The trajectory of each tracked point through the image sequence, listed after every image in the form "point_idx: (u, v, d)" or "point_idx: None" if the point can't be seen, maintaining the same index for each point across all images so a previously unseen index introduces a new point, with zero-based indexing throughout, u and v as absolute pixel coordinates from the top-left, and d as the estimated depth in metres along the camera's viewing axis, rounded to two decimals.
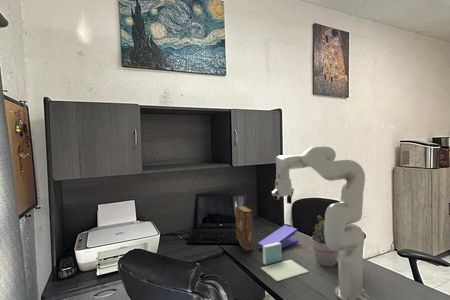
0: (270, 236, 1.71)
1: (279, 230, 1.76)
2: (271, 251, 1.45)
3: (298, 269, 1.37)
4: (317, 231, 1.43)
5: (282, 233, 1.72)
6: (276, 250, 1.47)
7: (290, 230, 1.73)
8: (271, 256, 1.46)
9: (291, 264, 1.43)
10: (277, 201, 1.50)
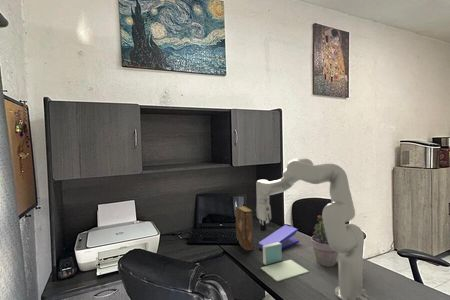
0: (270, 236, 1.71)
1: (279, 230, 1.76)
2: (271, 251, 1.45)
3: (298, 269, 1.37)
4: (317, 231, 1.43)
5: (282, 233, 1.72)
6: (276, 250, 1.47)
7: (291, 230, 1.73)
8: (271, 256, 1.46)
9: (291, 264, 1.43)
10: (265, 226, 1.54)
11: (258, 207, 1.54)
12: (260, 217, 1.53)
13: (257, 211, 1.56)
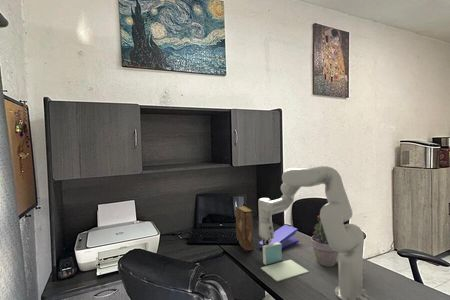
0: None
1: (279, 230, 1.76)
2: (271, 251, 1.45)
3: (298, 269, 1.37)
4: (317, 231, 1.43)
5: (282, 233, 1.72)
6: (276, 250, 1.47)
7: (291, 230, 1.73)
8: (271, 256, 1.46)
9: (291, 264, 1.43)
10: None
11: (260, 226, 1.53)
12: (262, 236, 1.52)
13: (259, 230, 1.55)
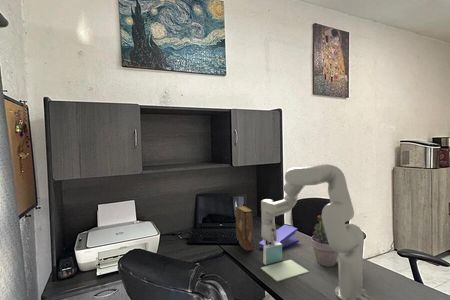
0: None
1: (279, 230, 1.77)
2: (272, 251, 1.45)
3: (298, 269, 1.37)
4: (317, 231, 1.43)
5: (282, 233, 1.72)
6: (277, 250, 1.46)
7: (291, 230, 1.74)
8: (271, 256, 1.45)
9: (291, 264, 1.43)
10: None
11: (263, 227, 1.50)
12: (265, 238, 1.49)
13: (262, 231, 1.52)
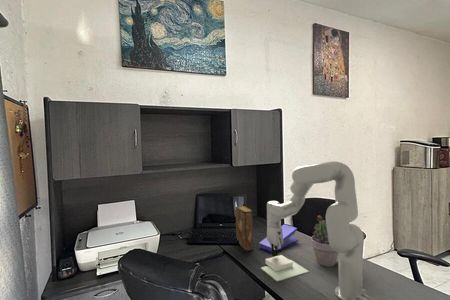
0: None
1: None
2: None
3: (298, 269, 1.37)
4: (317, 231, 1.43)
5: (282, 232, 1.73)
6: None
7: (290, 229, 1.74)
8: None
9: None
10: (277, 250, 1.45)
11: (269, 230, 1.45)
12: (271, 241, 1.44)
13: (268, 235, 1.46)
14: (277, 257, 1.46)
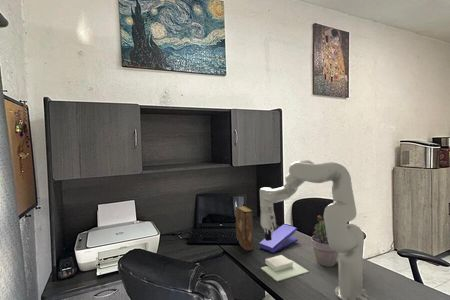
0: (271, 236, 1.72)
1: (279, 229, 1.77)
2: None
3: (298, 269, 1.37)
4: (317, 231, 1.43)
5: (282, 232, 1.73)
6: None
7: (290, 229, 1.75)
8: None
9: None
10: (270, 235, 1.50)
11: (262, 216, 1.51)
12: (265, 226, 1.50)
13: (261, 220, 1.52)
14: (277, 257, 1.46)
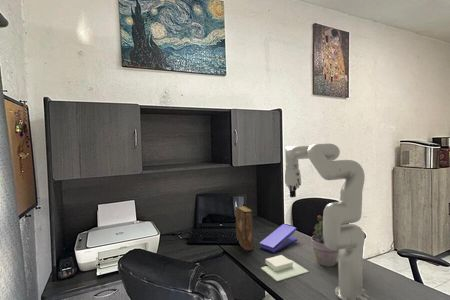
0: (271, 236, 1.72)
1: (279, 229, 1.78)
2: None
3: (298, 269, 1.37)
4: (317, 231, 1.43)
5: (282, 232, 1.73)
6: None
7: (290, 229, 1.75)
8: None
9: None
10: (295, 192, 1.55)
11: (287, 173, 1.55)
12: (290, 183, 1.54)
13: (286, 178, 1.57)
14: (277, 257, 1.46)
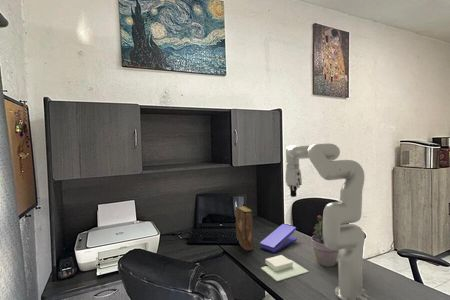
0: (271, 236, 1.72)
1: (278, 229, 1.78)
2: None
3: (298, 269, 1.37)
4: (317, 231, 1.43)
5: (282, 232, 1.74)
6: None
7: (290, 228, 1.76)
8: None
9: None
10: (295, 191, 1.55)
11: (288, 173, 1.56)
12: (290, 183, 1.55)
13: (287, 177, 1.57)
14: (277, 257, 1.46)
